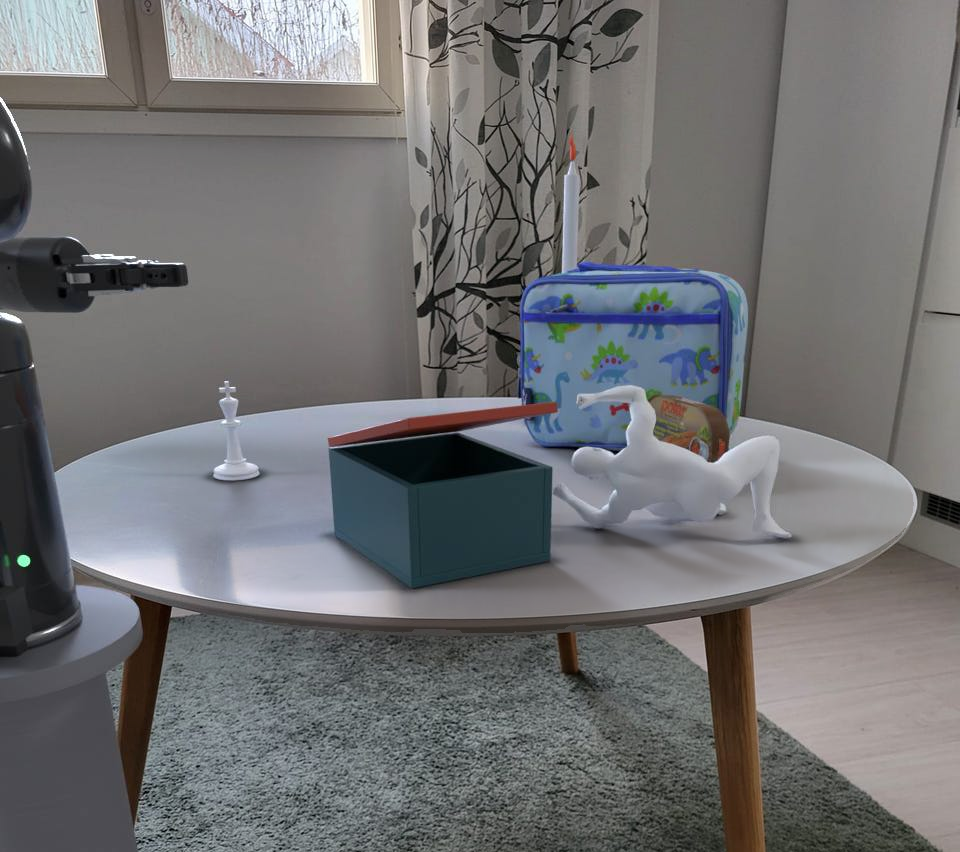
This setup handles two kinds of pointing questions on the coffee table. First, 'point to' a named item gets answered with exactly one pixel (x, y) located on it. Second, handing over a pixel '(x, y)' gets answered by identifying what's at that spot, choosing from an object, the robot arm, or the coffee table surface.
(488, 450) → the teal box
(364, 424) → the coffee table surface
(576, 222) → the candlestick
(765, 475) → the person figurine
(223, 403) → the chess piece
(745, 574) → the coffee table surface
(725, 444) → the tin
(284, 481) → the coffee table surface
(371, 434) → the red box lid
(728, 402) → the lunch box
